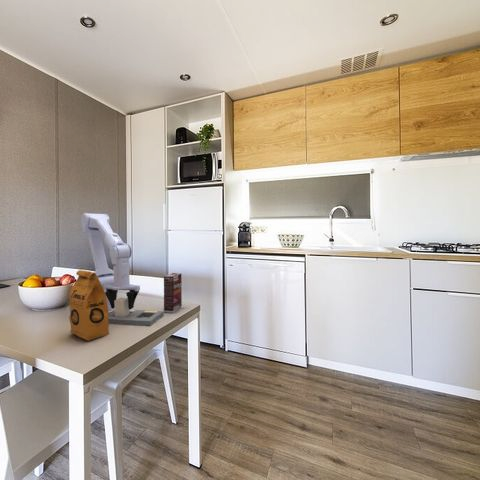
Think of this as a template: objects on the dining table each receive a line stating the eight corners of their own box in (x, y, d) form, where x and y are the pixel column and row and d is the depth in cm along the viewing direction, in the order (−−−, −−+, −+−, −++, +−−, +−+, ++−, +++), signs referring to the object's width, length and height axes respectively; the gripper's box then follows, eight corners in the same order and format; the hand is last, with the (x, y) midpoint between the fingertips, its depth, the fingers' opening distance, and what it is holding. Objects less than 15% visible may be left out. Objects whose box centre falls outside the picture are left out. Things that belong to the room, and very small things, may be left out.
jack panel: (101, 323, 93) (101, 318, 93) (119, 313, 104) (119, 308, 104) (150, 325, 90) (150, 320, 90) (163, 315, 101) (163, 310, 101)
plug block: (114, 320, 96) (114, 300, 96) (121, 316, 100) (120, 297, 100) (124, 320, 96) (123, 300, 95) (130, 317, 99) (129, 297, 99)
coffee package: (81, 345, 76) (79, 275, 75) (66, 334, 83) (64, 271, 82) (113, 333, 84) (112, 271, 82) (97, 325, 91) (96, 267, 90)
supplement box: (173, 313, 104) (173, 276, 103) (163, 312, 105) (162, 276, 104) (182, 306, 112) (182, 273, 111) (172, 306, 113) (172, 272, 112)
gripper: (97, 276, 94) (99, 310, 95) (132, 277, 92) (133, 312, 93) (110, 273, 101) (111, 304, 102) (142, 273, 99) (143, 306, 99)
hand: (122, 308), depth 97 cm, fingers open, 7 cm apart
